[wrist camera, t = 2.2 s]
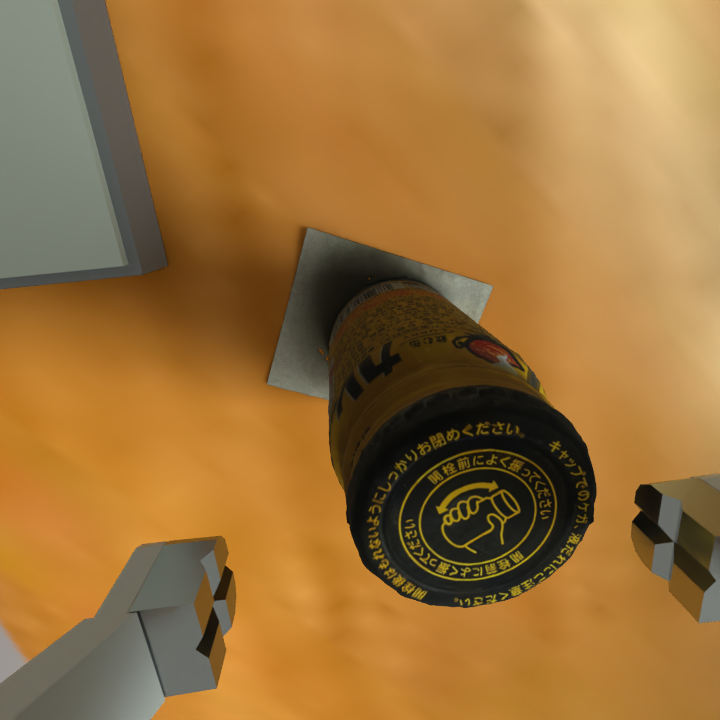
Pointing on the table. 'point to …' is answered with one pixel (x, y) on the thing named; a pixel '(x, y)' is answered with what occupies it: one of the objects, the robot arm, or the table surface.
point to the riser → (69, 151)
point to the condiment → (432, 427)
